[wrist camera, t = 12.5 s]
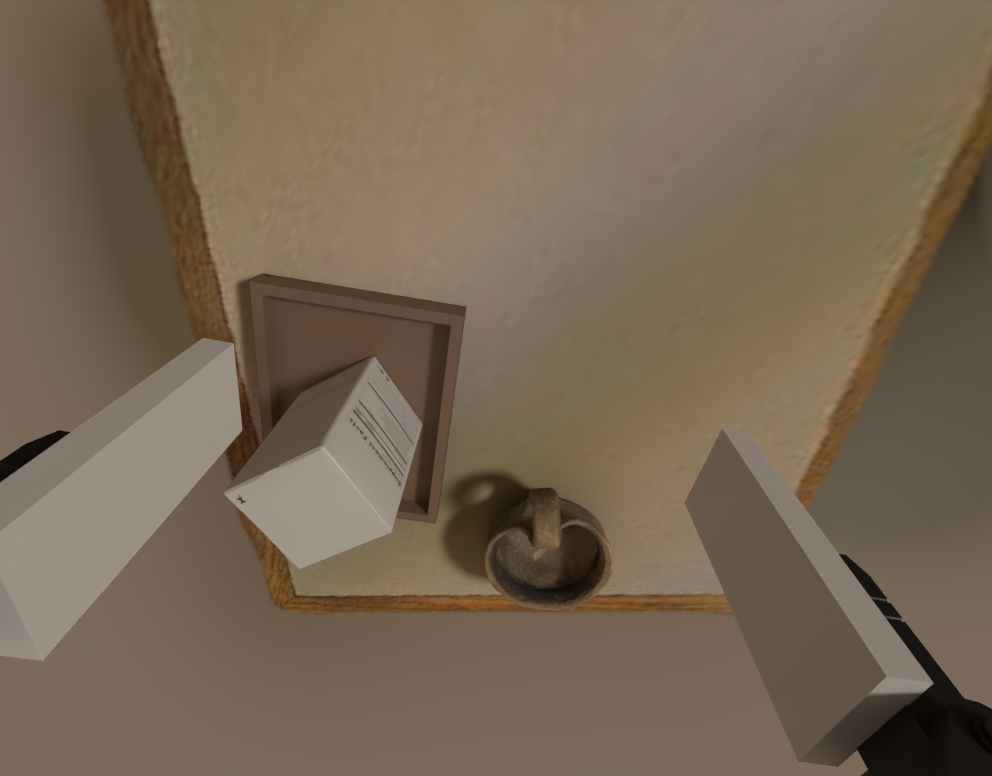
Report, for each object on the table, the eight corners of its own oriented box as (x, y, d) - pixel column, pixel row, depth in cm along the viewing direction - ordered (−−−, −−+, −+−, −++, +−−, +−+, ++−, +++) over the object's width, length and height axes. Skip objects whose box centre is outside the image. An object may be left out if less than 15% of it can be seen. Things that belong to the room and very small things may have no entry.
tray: (262, 273, 42) (249, 281, 40) (466, 306, 43) (463, 316, 41) (278, 484, 53) (268, 500, 51) (438, 507, 54) (435, 523, 52)
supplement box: (352, 458, 50) (296, 574, 37) (299, 391, 47) (216, 493, 34) (426, 425, 48) (394, 536, 35) (376, 352, 45) (319, 446, 31)
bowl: (489, 570, 59) (485, 647, 50) (478, 454, 51) (472, 522, 42) (602, 568, 58) (618, 646, 49) (610, 450, 50) (631, 518, 41)
